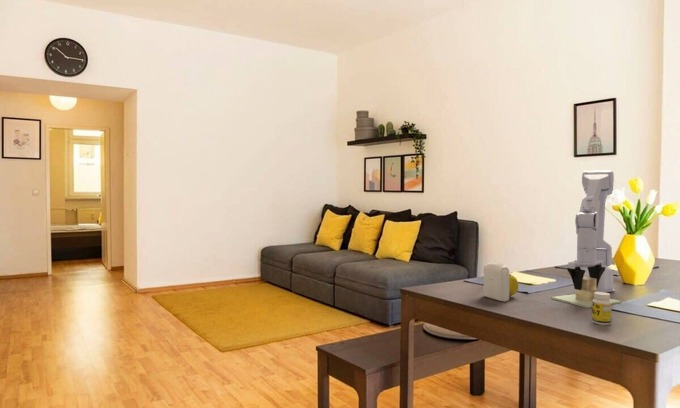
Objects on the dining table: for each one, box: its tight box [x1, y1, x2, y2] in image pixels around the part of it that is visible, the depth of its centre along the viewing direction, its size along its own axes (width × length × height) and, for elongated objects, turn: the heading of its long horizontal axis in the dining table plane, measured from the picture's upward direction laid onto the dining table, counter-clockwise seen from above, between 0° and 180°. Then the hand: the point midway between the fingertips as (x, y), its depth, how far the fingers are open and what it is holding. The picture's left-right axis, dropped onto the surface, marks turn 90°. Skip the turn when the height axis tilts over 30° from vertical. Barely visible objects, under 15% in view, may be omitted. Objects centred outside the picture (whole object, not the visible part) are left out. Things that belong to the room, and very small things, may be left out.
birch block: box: [575, 276, 597, 301], centre depth 166 cm, size 4×4×7 cm
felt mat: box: [551, 293, 622, 309], centre depth 166 cm, size 16×14×1 cm
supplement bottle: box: [591, 292, 612, 326], centre depth 139 cm, size 5×5×8 cm
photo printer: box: [483, 261, 510, 302], centre depth 170 cm, size 10×4×12 cm, turn 20°
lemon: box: [509, 273, 519, 298], centre depth 172 cm, size 6×6×8 cm
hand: (585, 288), depth 166 cm, fingers open, 7 cm apart
